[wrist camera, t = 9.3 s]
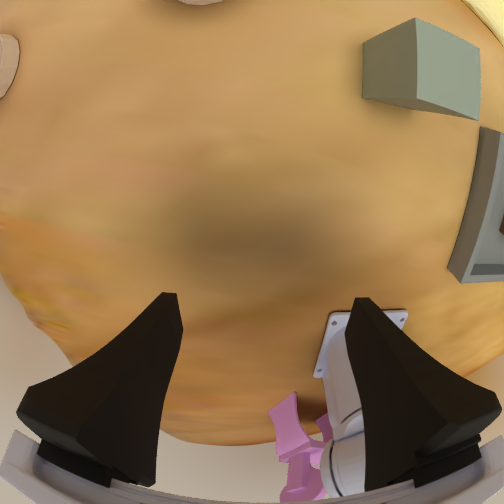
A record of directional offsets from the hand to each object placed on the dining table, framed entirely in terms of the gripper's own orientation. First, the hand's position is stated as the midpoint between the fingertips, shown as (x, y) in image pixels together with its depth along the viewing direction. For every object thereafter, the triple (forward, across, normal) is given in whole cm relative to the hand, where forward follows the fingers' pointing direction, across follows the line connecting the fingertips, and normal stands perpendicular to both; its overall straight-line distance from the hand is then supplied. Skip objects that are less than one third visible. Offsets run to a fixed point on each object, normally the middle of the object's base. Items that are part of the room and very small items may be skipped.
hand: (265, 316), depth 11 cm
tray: (+9, -24, -3) cm, 26 cm away
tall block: (+9, -8, -11) cm, 17 cm away
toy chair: (+10, -7, +26) cm, 29 cm away
